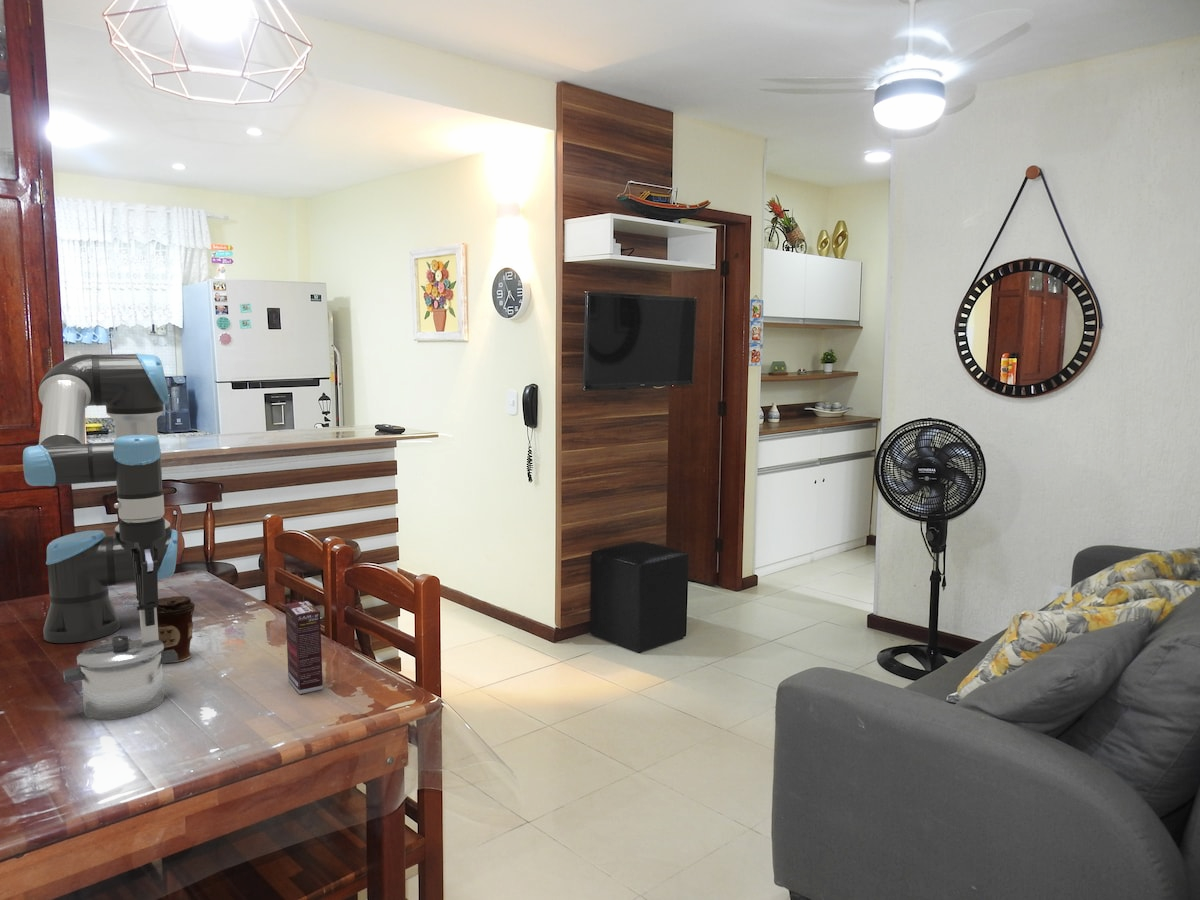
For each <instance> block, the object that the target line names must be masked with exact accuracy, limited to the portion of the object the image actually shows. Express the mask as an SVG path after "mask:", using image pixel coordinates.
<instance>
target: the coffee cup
mask: <svg viewBox="0 0 1200 900" xmlns="http://www.w3.org/2000/svg"><path fill="white" fill-rule="evenodd" d="M158 602H159V604H158V607H157V622H158V637H159V641H162V642H163V644H164V650H163V651H166V650H172V649H174V650H175V651H176V653H177V654H178V661H173V662H172V663H179V662H184V661H187V660H189V659H190V658H192V653H191V652H190V646H191V641H192V638H193V628H194V627H193V626H194V623H193V615H194V610H195V604H194V603H193V602H192V599H191V597H189V596H185V595H181V596H179V595H178V596H171V597H161V598H158ZM169 663H171V662H168V663H167V664H169Z"/></svg>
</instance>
